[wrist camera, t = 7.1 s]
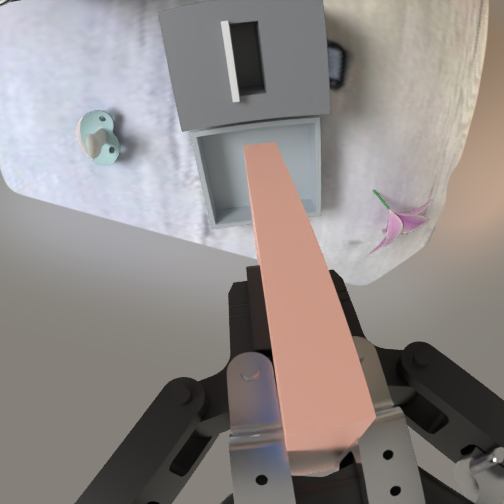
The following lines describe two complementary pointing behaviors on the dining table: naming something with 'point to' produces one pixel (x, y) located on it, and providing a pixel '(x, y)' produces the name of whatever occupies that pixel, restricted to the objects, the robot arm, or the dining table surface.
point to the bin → (234, 169)
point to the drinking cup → (3, 0)
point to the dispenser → (246, 60)
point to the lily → (400, 224)
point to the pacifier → (98, 137)
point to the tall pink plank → (304, 323)
